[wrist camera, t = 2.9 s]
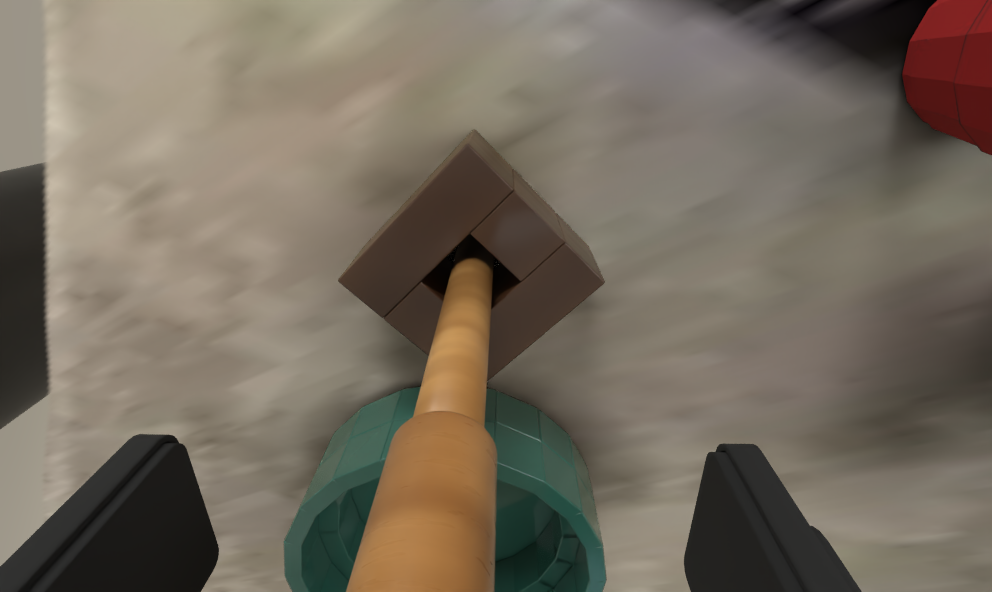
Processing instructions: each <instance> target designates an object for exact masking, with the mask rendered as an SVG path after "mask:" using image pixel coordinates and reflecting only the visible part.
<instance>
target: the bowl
mask: <svg viewBox="0 0 992 592" xmlns="http://www.w3.org/2000/svg"><path fill="white" fill-rule="evenodd" d="M420 388H421V387H415V388H407V389H403V390H400V391H398V392H395V393H393V394H391V395H389V396H386V397H384V398H382V399H379V400H377V401H375V402H372V403H370V404H368V405H366V406H364V407H362V408H361V409H360V410H359V411H358V412H357V413H355V414H354V415H353V416H352V417H351V418H350V419H349V420H348V421H347V422H346V423H344V424H343V425H342V426H341V427H340V428H339V429H338V430H337V431H336V432H335V433H334V434H333V436H332V439H331V441H330V443H329V445H328V447H327V449H326V451H325V453H324V456H323V458H322V460H321V462H320V464H319V466H318V468H317V471H316V473H315V475H314V477H313V479H312V481H311V483H310V486H309V488H308V490H307V492H306V494H305V496H304V499H303V501H302V503H301V505H300V507H299V509H298V511H297V514H296V516H295V518H294V520H293V522H292V524H291V527H290V529H289V531H288V533H287V535H286V537H285V541H284V569H285V578H286V580H287V582H288V584H289V586H290V589H291V591H292V592H346V590H347V586H348V583H349V580H350V576H351V573H352V570H353V566H354V563H355V560H356V556H357V553H358V550H359V546H360V543H361V540H362V537H363V533H364V530H365V527H366V523H367V520H368V517H369V513H370V510H371V507H372V503H373V500H374V497H375V494H376V490H377V487H378V484H379V480H380V477H381V474H382V470H383V467H384V464H385V460H386V457H387V454H388V451H389V447H390V444H391V441H392V438H393V436H394V434H395V433H396V431H397V430H398V429H399V428H400V427H401V426H402V425H403V424H404V423H405V422H407V421H408V420H409V419H411V418H413V415H414V411H415V407H416V403H417V400H418V396H419V392H420ZM484 428H485V429H486V430H487V431H488V433H489V434H490V435H491V437H492V439H493V441H494V443H495V445H496V449H497V500H496V550H495V592H603V589H604V586H605V583H606V569H605V559H604V549H603V543H602V538H601V533H600V528H599V523H598V518H597V513H596V508H595V504H594V499H593V494H592V489H591V484H590V479H589V474H588V469H587V466H586V464H585V462H584V460H583V459H582V457H581V455H580V453H579V451H578V450H577V448H576V446H575V444H574V443H573V441H572V439H571V437H570V436H569V435H568V434H567V433H566V432H565V431H564V430H563V429H561V428H560V427H559V426H558V425H557V424H556V423H554V422H553V421H552V420H551V419H550V418H549V417H547V416H546V415H545V414H544V413H543V412H542V411H540V410H539V409H537V408H536V407H534V406H531V405H529V404H527V403H524V402H522V401H520V400H518V399H515V398H513V397H511V396H508V395H506V394H504V393H501V392H499V391H496V390H493V389H486V407H485V424H484Z"/></svg>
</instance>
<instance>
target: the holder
mask: <svg viewBox="0 0 992 592" xmlns="http://www.w3.org/2000/svg"><path fill="white" fill-rule="evenodd" d="M470 233H471V235H472V236H473V237H474V238H475V239H476V240H477V241H478V242H479V243H480V244H482V245H483V246H484V247H485V248H486V249H487V250H488V251H489V252H490V253H491V254H492V255H493V256H494V257H495V258H496V259H497V260H498V261H500V262H501V264H500V265H499V266H498V267H496V268H495V269H494V270H493V285H492V302H491V319H490V337H489V354H488V372H487V381H488V380H489V379H491V378H492V377H493V376H494V375H495V374H497V373H498V372H499V371H500V370H501V369H503V368H504V367H505V366H506V365H507V364H509V363H510V362H511V361H512V360H513V359H514V358H516V357H517V356H518V355H519V354H520V353H522V352H523V351H524V350H525V349H526V348H528V347H529V346H530V345H531V344H532V343H534V342H535V341H536V340H537V339H538V338H540V337H541V336H542V335H543V334H544V333H545V332H547V331H548V330H549V329H550V328H551V327H553V326H554V325H555V324H556V323H557V322H559V321H560V320H561V319H562V318H563V317H565V316H566V315H567V314H568V313H569V312H571V311H572V310H573V309H574V308H575V307H576V306H578V305H579V304H580V303H581V302H582V301H584V300H585V299H586V298H587V297H588V296H590V295H591V294H592V293H593V292H594V291H596V290H597V289H598V288H599V287H600V286H602V285H603V284H604V283H605V281H604V279H603V276H602V274H601V272H600V270H599V268H598V266H597V263H596V261H595V259H594V257H593V255H592V253H591V250H590V248H589V246H588V245H587V244H586V243H585V242H584V241H583V240H582V239H581V238H580V237H579V236H578V235H577V234H576V233H575V232H574V231H573V230H572V229H571V228H570V227H569V226H568V225H567V224H566V223H565V221H564V220H563V219H562V218H561V217H560V216H559V215H558V214H557V213H555V211H554V210H553V209H552V208H551V207H550V206H549V205H548V204H547V203H546V202H545V201H544V200H543V199H542V198H541V197H540V196H539V195H538V194H537V193H536V192H535V191H534V190H533V189H532V187H531V186H530V185H529V184H528V183H527V182H526V181H525V180H524V179H523V178H522V177H521V176H520V175H519V174H518V173H517V172H516V171H515V170H514V169H512V167H511V166H510V165H509V164H508V163H507V162H506V161H505V160H504V159H503V158H502V157H501V156H500V155H499V154H498V153H497V152H496V151H495V150H494V148H493V147H492V146H491V145H490V144H489V143H488V142H487V141H486V140H485V139H484V138H483V137H482V136H481V135H480V134H479V133H478V132H477V131H476V130H472V132H471V133H470V134H469V135H468V136H467V137H466V138H465V139H464V140H463V141H462V142H461V143H460V144H459V145H458V146H457V148H456V149H455V150H454V151H453V152H452V153H451V154H450V155H449V156H448V157H447V158H446V159H445V160H444V161H443V163H442V164H441V165H440V166H439V167H438V168H437V169H436V170H435V171H434V172H433V173H432V174H431V175H430V176H429V177H428V179H427V180H426V181H425V182H424V183H423V184H422V185H421V186H420V187H419V188H418V189H417V190H416V191H415V192H414V193H413V195H412V196H411V197H410V198H409V199H408V200H407V201H406V202H405V203H404V204H403V205H402V206H401V207H400V208H399V210H398V211H397V212H396V213H395V214H394V215H393V216H392V217H391V218H390V219H389V220H388V221H387V222H386V223H385V224H384V226H383V227H382V228H381V229H380V230H379V231H378V232H377V233H376V234H375V235H374V236H373V237H372V238H371V239H370V240H369V242H368V243H367V244H366V245H365V246H364V247H363V248H362V250H361V251H360V252H359V254H358V255H357V256H356V257H355V259H354V260H353V261H352V263H351V264H350V265H349V267H348V268H347V269H346V270H345V272H344V273H343V274H342V276H341V277H340V278H339V280H338V281H339V282H340V283H341V284H342V285H343V286H344V287H346V288H347V289H348V290H349V291H350V292H352V293H353V294H354V295H355V296H357V297H358V298H359V299H360V300H361V301H363V302H364V303H365V304H366V305H367V306H369V307H370V308H371V309H372V310H374V311H375V312H376V313H377V314H378V315H380V316H381V317H382V318H383V317H384V319H385V320H386V321H387V322H388V323H389V324H391V325H392V326H393V327H394V328H395V329H397V330H398V331H399V332H400V333H402V334H403V335H404V336H405V337H406V338H408V339H409V340H410V341H411V342H412V343H414V344H415V345H416V346H417V347H419V348H420V349H421V350H422V351H423V352H425V353H426V354H427V355H428V356H429V354H430V350H431V346H432V342H433V338H434V335H435V331H436V327H437V323H438V319H439V315H440V312H441V308H442V304H443V300H444V296H445V293H446V289H447V285H448V281H449V277H450V273H451V270H452V266H453V263H452V262H451V261H450V260H448V259H447V258H446V256H447V255H448V254H449V253H450V252H451V251H452V250H453V249H454V248H455V247H456V246H457V245H458V244H459V243H460V242H461V241H463V240H464V239H465V238H466V237H467V236H468V235H469V234H470Z"/></svg>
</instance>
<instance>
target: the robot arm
mask: <svg viewBox="0 0 992 592" xmlns="http://www.w3.org/2000/svg"><path fill="white" fill-rule="evenodd" d="M218 555H219V548H218V544H217V540H216V537H215V534H214V531H213V528H212V525H211V522H210V519H209V516H208V513H207V510H206V507H205V504H204V501H203V498H202V495H201V492H200V489H199V486H198V483H197V480H196V477H195V474H194V470H193V467H192V464H191V461H190V458H189V455H188V452H187V449H186V447H185V446H184V445H183V444H180V443H179V442H178V440H177V438H175V437H174V436H173V435H147V434H139V435H136V436H133V437H132V438H131V439H129V440H128V441H127V442H126V443H125V444H124V445H123V446H122V447H121V448H120V449H119V450H118V451H117V452H116V453H115V454H114V455H113V456H112V457H111V458H110V459H109V460H108V461H107V462H106V463H105V464H104V465H103V466H102V467H101V468H100V469H99V470H98V471H97V472H96V473H95V474H94V475H93V476H92V477H91V478H90V479H89V480H88V481H87V482H86V483H85V484H84V485H83V486H82V487H81V488H79V489H78V490H77V491H76V492H75V493H74V494H73V495H72V496H71V497H70V498H69V499H68V500H67V501H66V502H65V503H64V504H63V505H62V506H61V507H60V508H59V509H58V510H57V511H56V512H55V513H54V514H53V515H52V516H51V517H50V518H49V519H48V520H47V521H46V522H45V523H44V524H43V525H42V526H41V527H40V528H39V529H38V530H37V531H36V532H35V533H34V534H33V535H32V536H31V537H30V538H29V539H28V540H27V541H26V542H25V543H24V544H23V545H22V546H21V547H20V548H19V549H18V550H17V551H16V552H15V553H14V554H13V555H12V556H11V557H10V558H9V559H8V560H7V561H6V562H5V563H4V564H3V565H2V566H0V592H201V590H202V589H203V587H204V585H205V583H206V582H207V580H208V578H209V577H210V575H211V573H212V571H213V570H214V568H215V566H216V563H217V560H218ZM684 567H685V574H686V578H687V581H688V584H689V587H690V590H691V592H861V590H860V589H859V587H858V586H857V584H856V583H855V581H854V580H853V578H852V577H851V575H850V574H849V572H848V571H847V569H846V568H845V566H844V564H843V563H842V561H841V560H840V558H839V557H838V555H837V554H836V552H835V551H834V549H833V548H832V546H831V545H830V543H829V542H828V540H827V539H826V538H825V537H824V536H823V534H822V533H821V532H820V531H819V530H817V529H816V528H814V527H813V526H810V525H809V524H808V522H807V521H806V519H805V518H804V516H803V515H802V513H801V512H800V510H799V508H798V507H797V505H796V504H795V502H794V501H793V499H792V498H791V496H790V495H789V493H788V491H787V490H786V488H785V487H784V485H783V484H782V482H781V481H780V479H779V478H778V476H777V474H776V473H775V471H774V470H773V468H772V467H771V465H770V464H769V462H768V461H767V459H766V457H765V456H764V454H763V453H762V451H761V450H760V449H759V448H758V446H756V445H754V444H720V445H719V446H718V447H717V450H716V452H709V453H708V454H707V457H706V461H705V466H704V470H703V475H702V479H701V484H700V488H699V493H698V497H697V502H696V506H695V511H694V515H693V520H692V524H691V529H690V533H689V538H688V542H687V547H686V551H685V556H684Z"/></svg>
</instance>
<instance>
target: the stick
mask: <svg viewBox="0 0 992 592" xmlns="http://www.w3.org/2000/svg"><path fill="white" fill-rule="evenodd" d="M493 267H494V256H493V255H492V254H491V253H490V252H489V251H488V250H487V249H486V248H485V247H484V246H483V245H482V244H480V243H479V242H478V241H477V240H476V239H475V238H474V237H473V236H472V235H471V234H470V235H468V236H467V237H466V238H465V239H464V240H463V241H461V242H460V243H459V244H458V247H457V250H456V254H455V258H454V262H453V266H452V270H451V273H450V277H449V281H448V285H447V289H446V293H445V296H444V300H443V304H442V308H441V312H440V315H439V319H438V323H437V327H436V331H435V335H434V338H433V342H432V346H431V350H430V354H429V358H428V361H427V365H426V369H425V373H424V377H423V380H422V384H421V388H420V392H419V396H418V400H417V403H416V407H415V411H414V415H413V418H411V419H409V420H408V421H407V422H405V423H404V424H403V425H402V426H401V427H400V428H399V429H398V430H397V431H396V433H395V434H394V436H393V438H392V441H391V444H390V447H389V451H388V454H387V457H386V460H385V464H384V467H383V470H382V474H381V477H380V480H379V484H378V487H377V490H376V494H375V497H374V500H373V503H372V507H371V510H370V513H369V517H368V520H367V523H366V527H365V530H364V533H363V537H362V540H361V543H360V546H359V550H358V553H357V556H356V560H355V563H354V566H353V570H352V573H351V576H350V580H349V583H348V586H347V590H346V592H495V550H496V500H497V449H496V445H495V443H494V441H493V439H492V437H491V435H490V434H489V433H488V431H487V430H486V429H485V428H484V424H485V407H486V389H487V372H488V354H489V337H490V319H491V302H492V285H493Z"/></svg>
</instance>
